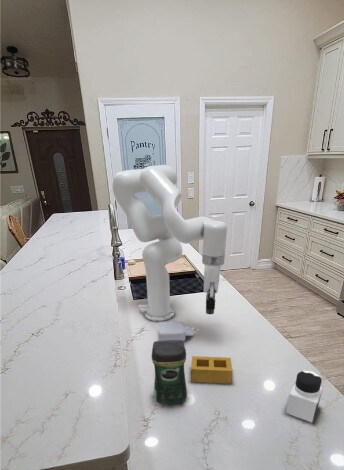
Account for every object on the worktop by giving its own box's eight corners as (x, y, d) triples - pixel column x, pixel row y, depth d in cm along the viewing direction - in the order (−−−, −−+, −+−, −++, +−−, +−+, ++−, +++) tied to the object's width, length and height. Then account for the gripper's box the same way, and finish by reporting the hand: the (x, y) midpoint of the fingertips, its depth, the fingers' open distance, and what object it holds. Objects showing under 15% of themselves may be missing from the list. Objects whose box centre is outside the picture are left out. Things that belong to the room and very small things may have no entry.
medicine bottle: (312, 423, 87) (321, 388, 81) (285, 413, 90) (292, 378, 84) (318, 407, 92) (326, 372, 86) (292, 398, 95) (298, 364, 90)
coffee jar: (185, 386, 101) (185, 334, 92) (187, 405, 94) (187, 350, 85) (154, 388, 100) (151, 336, 92) (153, 406, 93) (150, 351, 85)
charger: (199, 342, 123) (159, 343, 123) (197, 330, 131) (159, 331, 131) (199, 331, 120) (159, 332, 120) (197, 319, 129) (159, 320, 128)
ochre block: (190, 382, 103) (191, 369, 100) (191, 368, 109) (192, 356, 106) (231, 383, 101) (232, 370, 99) (229, 370, 108) (230, 357, 105)
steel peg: (205, 314, 121) (206, 294, 117) (205, 310, 124) (206, 291, 120) (213, 314, 121) (215, 295, 117) (213, 310, 123) (215, 291, 119)
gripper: (202, 251, 119) (200, 296, 128) (201, 266, 105) (199, 316, 114) (223, 251, 119) (219, 297, 128) (225, 267, 105) (221, 317, 114)
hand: (210, 306), depth 121 cm, fingers closed on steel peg, 3 cm apart
